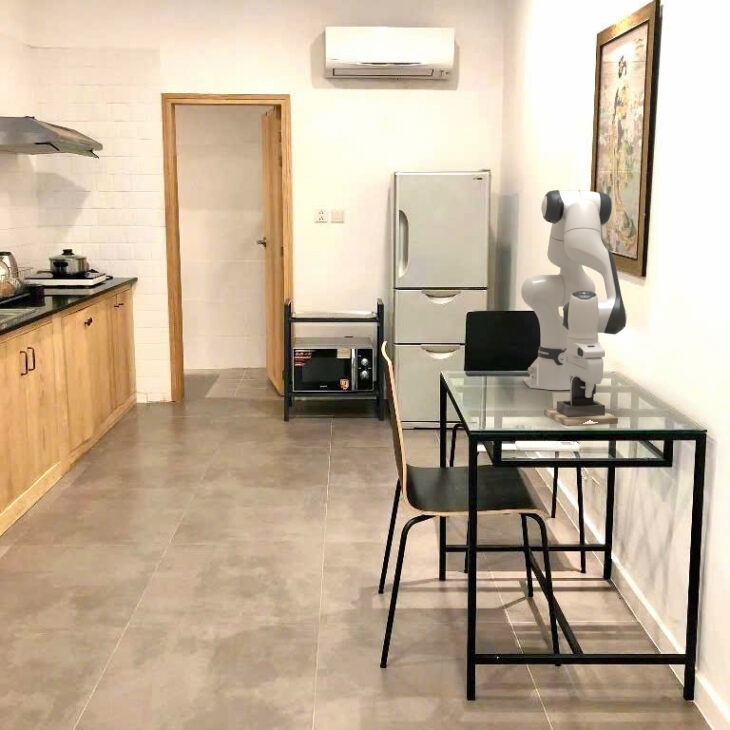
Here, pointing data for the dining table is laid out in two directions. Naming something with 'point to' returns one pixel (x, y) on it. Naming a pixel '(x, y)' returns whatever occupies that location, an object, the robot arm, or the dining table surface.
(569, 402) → the dock
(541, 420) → the dining table surface
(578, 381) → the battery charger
